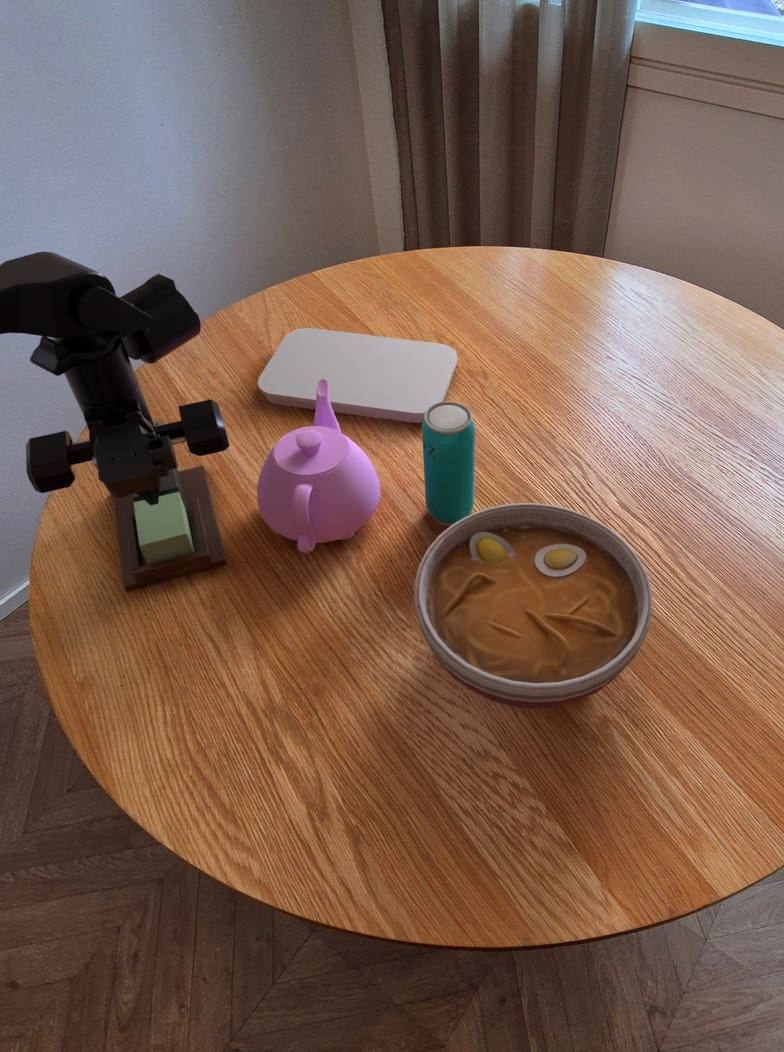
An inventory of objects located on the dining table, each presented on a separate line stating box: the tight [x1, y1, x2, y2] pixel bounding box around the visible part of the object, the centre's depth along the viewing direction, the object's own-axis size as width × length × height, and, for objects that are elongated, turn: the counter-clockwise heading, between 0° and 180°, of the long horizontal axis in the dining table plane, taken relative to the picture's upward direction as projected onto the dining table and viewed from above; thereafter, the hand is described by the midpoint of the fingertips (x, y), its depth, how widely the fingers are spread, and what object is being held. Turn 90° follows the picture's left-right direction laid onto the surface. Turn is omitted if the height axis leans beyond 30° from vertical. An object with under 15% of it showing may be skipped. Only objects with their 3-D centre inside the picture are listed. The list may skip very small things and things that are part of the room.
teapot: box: [256, 379, 381, 554], centre depth 91 cm, size 20×14×12 cm
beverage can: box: [421, 400, 476, 527], centre depth 90 cm, size 6×6×15 cm
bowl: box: [413, 502, 654, 710], centre depth 79 cm, size 23×23×10 cm
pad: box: [134, 492, 195, 565], centre depth 89 cm, size 5×7×4 cm
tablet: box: [257, 327, 459, 424], centre depth 112 cm, size 16×26×2 cm, turn 79°
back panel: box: [112, 465, 228, 593], centre depth 91 cm, size 11×17×5 cm, turn 21°
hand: (154, 502), depth 86 cm, fingers closed
